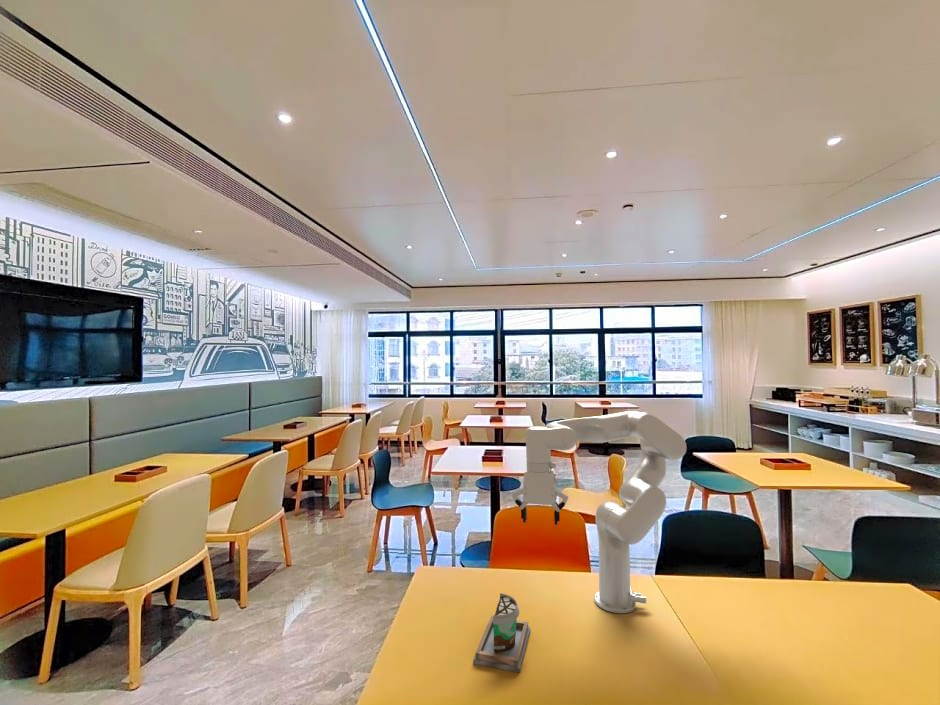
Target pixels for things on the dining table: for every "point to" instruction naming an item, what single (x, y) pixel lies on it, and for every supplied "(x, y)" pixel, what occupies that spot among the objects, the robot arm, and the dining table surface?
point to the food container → (505, 623)
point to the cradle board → (502, 660)
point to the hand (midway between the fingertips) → (540, 522)
